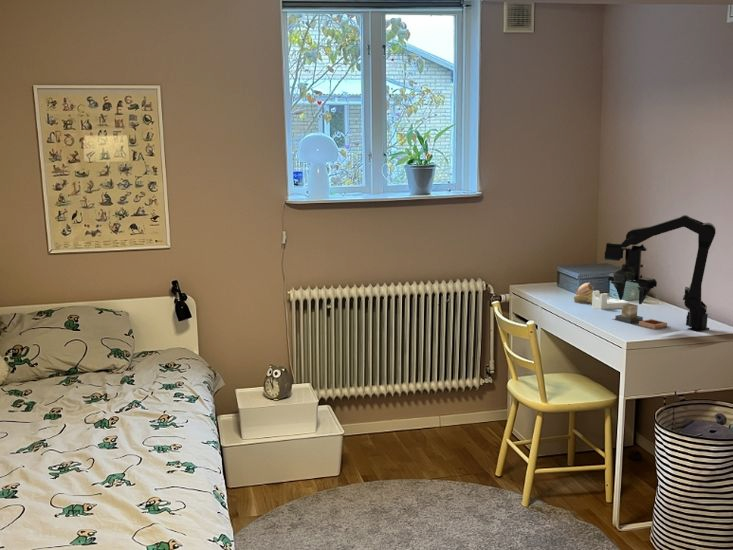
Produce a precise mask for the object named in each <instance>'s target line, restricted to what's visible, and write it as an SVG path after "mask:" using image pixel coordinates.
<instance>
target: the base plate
mask: <svg viewBox="0 0 733 550" xmlns="http://www.w3.org/2000/svg"><path fill="white" fill-rule="evenodd" d="M621 316H622V314H617V315H615V318H612V319H611V320H614V321H617V322H620V323H625V324H629V325H632V326H636V327H641V328H645V329H649V330H654V331H659V330H662V329H663V330H664V329H667V328H670V326H668V322H666V321H662V320H661V321H660V320H657V319H653V318H649V319H645V320H644V317H643V316H640V315H637V317H636V318H631V319H630V318H626V317H621Z"/></svg>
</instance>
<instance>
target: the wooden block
mask: <svg viewBox="0 0 733 550" xmlns="http://www.w3.org/2000/svg"><path fill="white" fill-rule="evenodd" d="M638 305H639V304H635V303H634V304H633V303H630V302H629V304H623V305H622V308H621V315H622V316H621V317H626V318H630V319H631V318H636V317H637V316H638Z"/></svg>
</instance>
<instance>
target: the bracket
mask: <svg viewBox="0 0 733 550" xmlns="http://www.w3.org/2000/svg"><path fill="white" fill-rule="evenodd" d="M592 292H593V295H592V303H591V309H593V308H594V310H611V309H613V310H614V309H622V305H623V304H629V303H630V301H627V300H624V299H622V300H619V298H609V299H608V293H601V292H600V290H592Z"/></svg>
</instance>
